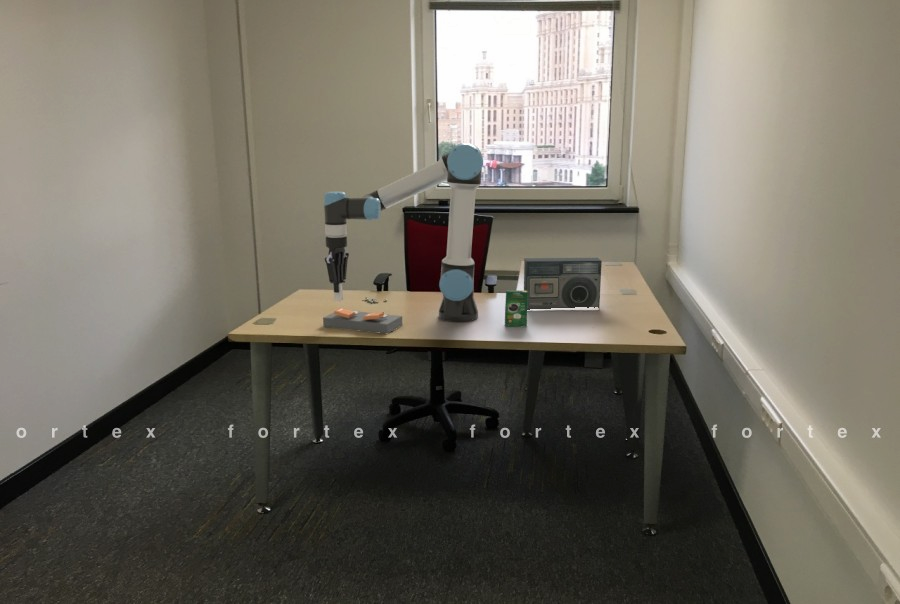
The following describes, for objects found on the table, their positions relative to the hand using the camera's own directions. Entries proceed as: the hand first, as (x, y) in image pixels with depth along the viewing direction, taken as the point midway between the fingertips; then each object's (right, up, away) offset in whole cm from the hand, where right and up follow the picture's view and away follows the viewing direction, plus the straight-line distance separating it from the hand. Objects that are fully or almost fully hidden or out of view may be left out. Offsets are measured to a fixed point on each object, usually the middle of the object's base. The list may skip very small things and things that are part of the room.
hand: (338, 300), depth 243 cm
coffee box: (+64, -9, +1) cm, 65 cm away
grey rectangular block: (+9, -9, +2) cm, 13 cm away
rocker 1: (+2, -4, 0) cm, 5 cm away
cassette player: (+85, -3, +25) cm, 88 cm away
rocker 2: (+13, -5, -4) cm, 15 cm away
